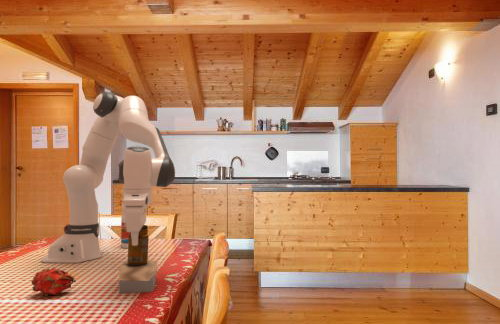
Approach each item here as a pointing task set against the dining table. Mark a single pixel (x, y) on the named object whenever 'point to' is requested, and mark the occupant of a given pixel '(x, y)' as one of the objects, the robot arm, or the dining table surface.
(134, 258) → the condiment
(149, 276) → the tower block upper
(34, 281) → the dragon fruit
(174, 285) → the dining table surface
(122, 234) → the fruit juice
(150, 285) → the tower block lower
